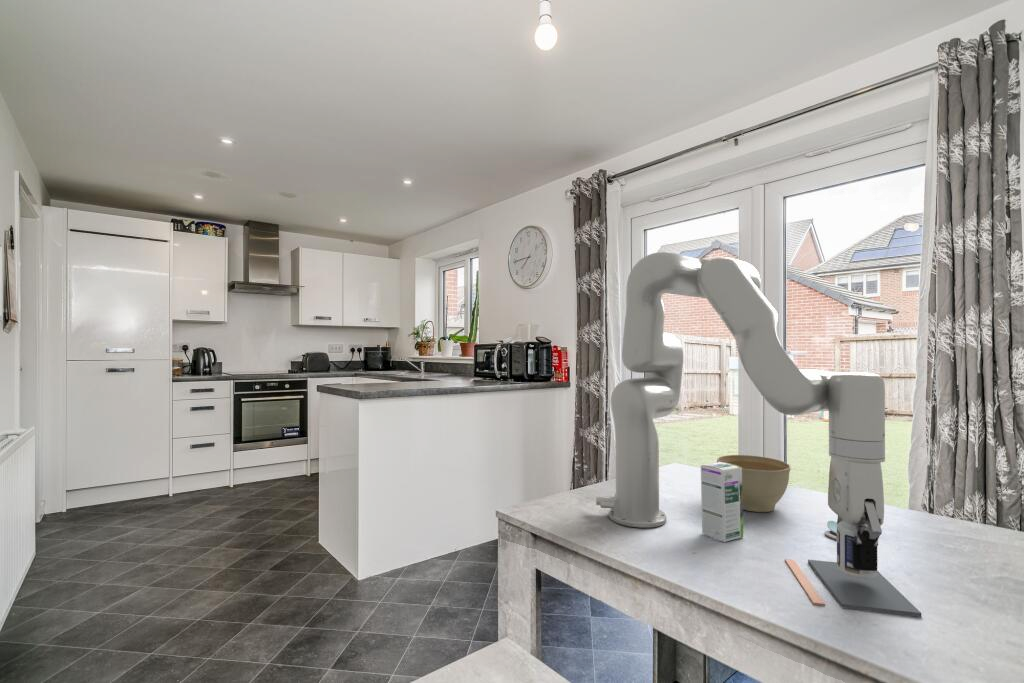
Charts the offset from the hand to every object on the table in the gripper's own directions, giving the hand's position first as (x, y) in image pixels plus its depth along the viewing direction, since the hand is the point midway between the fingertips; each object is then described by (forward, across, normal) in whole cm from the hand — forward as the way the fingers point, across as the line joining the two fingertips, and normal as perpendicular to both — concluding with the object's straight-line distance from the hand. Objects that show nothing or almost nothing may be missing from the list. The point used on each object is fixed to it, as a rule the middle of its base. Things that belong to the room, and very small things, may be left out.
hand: (856, 559), depth 81 cm
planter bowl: (+5, -40, -8) cm, 41 cm away
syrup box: (+5, -18, -18) cm, 26 cm away
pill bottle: (+2, 0, 0) cm, 2 cm away
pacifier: (+5, -23, +6) cm, 24 cm away
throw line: (+4, 0, -8) cm, 9 cm away
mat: (+4, 0, 0) cm, 4 cm away
